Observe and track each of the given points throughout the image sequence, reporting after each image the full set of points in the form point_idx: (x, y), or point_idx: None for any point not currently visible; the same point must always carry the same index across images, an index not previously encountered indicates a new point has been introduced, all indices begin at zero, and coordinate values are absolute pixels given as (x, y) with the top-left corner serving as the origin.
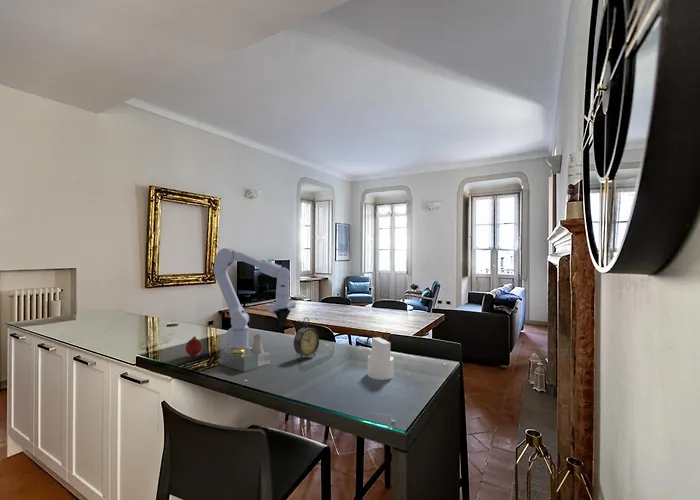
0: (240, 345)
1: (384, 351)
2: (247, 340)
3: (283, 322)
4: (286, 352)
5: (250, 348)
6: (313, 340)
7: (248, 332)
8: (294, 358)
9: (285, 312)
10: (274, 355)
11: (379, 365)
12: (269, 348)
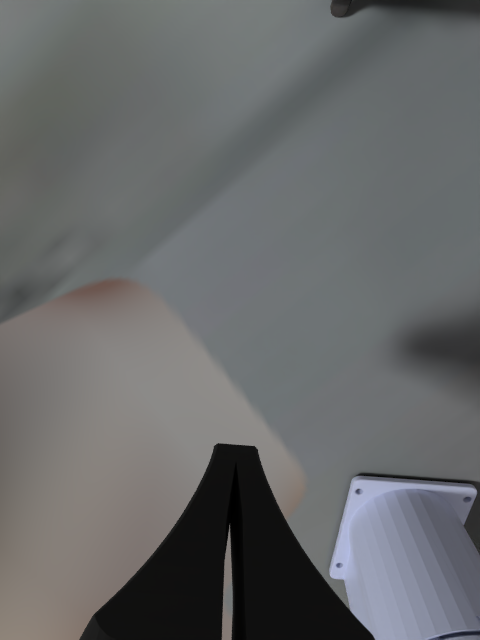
0: (457, 524)
1: None
2: (411, 540)
3: (251, 480)
4: (296, 238)
5: (375, 481)
6: None
7: (415, 604)
8: (422, 40)
9: (269, 632)
10: (416, 260)
11: None
12: (276, 408)
